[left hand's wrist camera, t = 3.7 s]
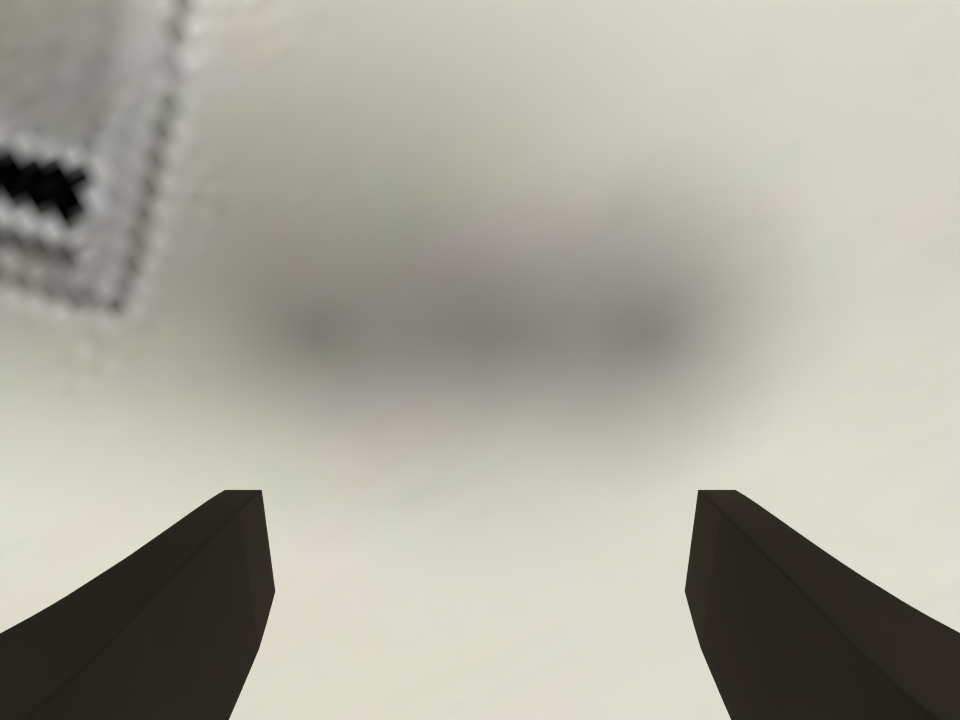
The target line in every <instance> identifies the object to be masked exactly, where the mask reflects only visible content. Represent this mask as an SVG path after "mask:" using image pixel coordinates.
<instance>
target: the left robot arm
mask: <svg viewBox="0 0 960 720" xmlns="http://www.w3.org/2000/svg"><path fill="white" fill-rule="evenodd" d="M274 594H275V586H274V579H273V571H272V564H271V556H270V549H269V541H268V534H267V526H266V519H265V511H264V504H263V496H262V490H224V491H223V492H221V493H219V494H218V495H216V496H214V497H213V498H211V499H210V500H208V501H207V502H205V503H204V504H202V505H201V506H199V507H198V508H197V509H195V510H194V511H192V512H191V513H189V514H188V515H187V516H185V517H184V518H182V519H181V520H180V521H178V522H177V523H175V524H174V525H173V526H171V527H170V528H168V529H167V530H165V531H164V532H163V533H161V534H160V535H158V536H157V537H155V538H154V539H153V540H151V541H150V542H148V543H147V544H145V545H144V546H143V547H141V548H140V549H138V550H137V551H135V552H134V553H133V554H131V555H130V556H128V557H127V558H125V559H124V560H122V561H121V562H119V563H117V564H116V565H114V566H113V567H111V568H110V569H108V570H107V571H105V572H103V573H102V574H100V575H99V576H97V577H96V578H94V579H93V580H91V581H89V582H88V583H86V584H85V585H83V586H82V587H80V588H78V589H77V590H75V591H74V592H72V593H71V594H69V595H68V596H66V597H64V598H63V599H61V600H59V601H58V602H56V603H54V604H53V605H51V606H49V607H47V608H46V609H44V610H42V611H40V612H39V613H37V614H35V615H33V616H32V617H30V618H28V619H26V620H24V621H22V622H21V623H19V624H17V625H15V626H13V627H11V628H10V629H8V630H6V631H4V632H2V633H0V720H229V718H230V716H231V713H232V711H233V709H234V706H235V704H236V702H237V700H238V697H239V695H240V693H241V690H242V688H243V685H244V683H245V681H246V678H247V676H248V674H249V671H250V669H251V667H252V664H253V662H254V659H255V657H256V655H257V652H258V650H259V647H260V644H261V640H262V637H263V634H264V630H265V627H266V623H267V620H268V616H269V612H270V609H271V605H272V601H273V598H274ZM685 594H686V598H687V601H688V605H689V609H690V612H691V616H692V620H693V623H694V627H695V630H696V634H697V637H698V640H699V644H700V647H701V650H702V652H703V655H704V657H705V659H706V662H707V664H708V667H709V669H710V671H711V674H712V676H713V678H714V681H715V683H716V685H717V688H718V690H719V693H720V695H721V697H722V700H723V702H724V704H725V706H726V709H727V711H728V713H729V716H730V718H731V720H960V633H959V632H957V631H955V630H953V629H951V628H949V627H948V626H946V625H944V624H942V623H940V622H938V621H936V620H934V619H933V618H931V617H929V616H927V615H925V614H924V613H922V612H920V611H918V610H917V609H915V608H913V607H911V606H910V605H908V604H906V603H905V602H903V601H901V600H900V599H898V598H896V597H895V596H893V595H892V594H890V593H888V592H887V591H885V590H884V589H882V588H880V587H879V586H877V585H875V584H874V583H872V582H871V581H869V580H867V579H866V578H864V577H863V576H861V575H860V574H858V573H856V572H855V571H853V570H852V569H850V568H849V567H847V566H846V565H844V564H843V563H841V562H840V561H838V560H837V559H835V558H834V557H832V556H831V555H829V554H828V553H826V552H825V551H824V550H822V549H821V548H819V547H818V546H816V545H815V544H813V543H812V542H811V541H809V540H808V539H806V538H805V537H803V536H802V535H801V534H799V533H798V532H796V531H795V530H794V529H792V528H791V527H789V526H788V525H786V524H785V523H784V522H782V521H781V520H779V519H778V518H777V517H775V516H774V515H772V514H771V513H770V512H768V511H767V510H765V509H764V508H762V507H761V506H760V505H758V504H757V503H755V502H754V501H752V500H751V499H749V498H748V497H746V496H745V495H743V494H741V493H740V492H738V491H736V490H698V496H697V504H696V511H695V519H694V526H693V534H692V541H691V549H690V556H689V564H688V571H687V579H686V586H685Z"/></svg>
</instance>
